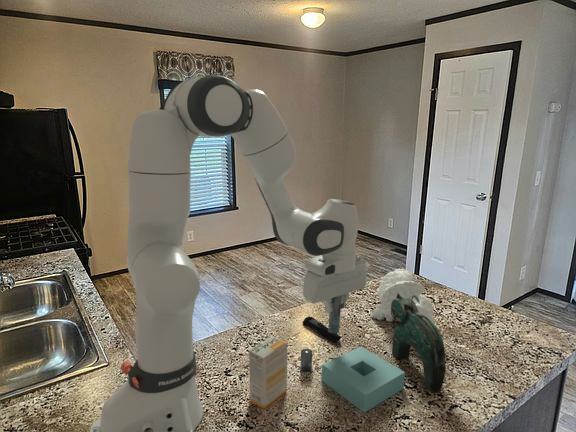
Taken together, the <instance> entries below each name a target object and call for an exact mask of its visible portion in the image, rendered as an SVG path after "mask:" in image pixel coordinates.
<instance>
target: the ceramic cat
mask: <svg viewBox="0 0 576 432" xmlns="http://www.w3.org/2000/svg"><path fill="white" fill-rule="evenodd" d="M413 297H415V298H416V300H417V301H418V303H419V304H420V302H419V299H418V297H417V296H415V295H414V296H412V299H410V298H402V297H401V296H400V295H399V294H397V297H396V299H394V300H393V301H392V304H391V316H392V318H393V319H394V320H393V321H394V322H395V325H394V331H393V336H392V348H391V354H392V355H393V356H394V357H395V359H398V360H405V359H409V358H410V350H411V348H413V349H415V351H416V352H417V353H418V355H419V357H420V358H421V363H422V368H423V376H424V377H423V379H424V387H425V389H426V390H427V391H428V392H429V393H436V392H441V391H442V388H443V385H444V380H445V375H446V371H447V366H446V350H445V345H444V341H443V337H442V336H441V333H440V331H439V328H437V326H436V325H435V324H434V323H433V322H432V321H431V320H430V319H429V318H428V317H426V316H424V315H422V314H420V313H419V312H418V309H417V306H416V304H415V302H414V301H413Z"/></svg>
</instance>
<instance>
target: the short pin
mask: <svg viewBox="0 0 576 432" xmlns="http://www.w3.org/2000/svg"><path fill="white" fill-rule="evenodd" d="M312 370H313V350H312V349H310V348H307V347H306V348H302V349H301V350H300V371H301V372H303V373H311V372H312Z"/></svg>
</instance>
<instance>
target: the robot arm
mask: <svg viewBox="0 0 576 432" xmlns="http://www.w3.org/2000/svg"><path fill="white" fill-rule="evenodd" d="M229 135H230V136H231V137H232V138H233V141H235V142H236V144H237V147H238V149H239V151H240V152H241V154H242V156H243V158H244V160H245V161H246V163H247V165H248V167H249V169H250V170H251V172H252V175H253V177H254V180H255V182H256V185H257V187H258V190H259V192H260V194H261V196H262V198H263V200H264V202H265V205H266V207H267V209H268V211H269V213H270V217H271V222H272V223H271V224H272V230H273V235H274V237H275V238H276V240H277V241H278V242H279V243H281V244H283V245H285V246H289V247H292V248H294V249H296V250H298V251H300V252H303V253H306V254H307V255H310V256H314V257H312V258H311V259H309V260H307V261H306V263H305V269H306V270H307V271H306V273H305V275H304V277H303V279H304V280H303V288H302V289H303V291H302V295H303V299H305V300H306V302H309V303H311V304H313V305H315V304H317V303H321V302H322V303H323V305H324V311H325V312H326V313H327V314H329V313H331V312H333V309H334V306H332V305H331V304H330V302H331V299H332V298H334V297H337V296H340V295H342V299H341V310H342V309H345V308H346V303H347V301H348V299H349V297H350V293H352V292H356V291H360V290H363V289H365V288H366V286H367V281H368V280H367V279H368V277H367V275H368V273H367V267H366V266H367V265H366V259H365V257H363V256H362V255H356V254H357V247H356V241H357V237H358V230H359V229H358V228H359V212H358V209H357V206H356V205H355V203H353V202H351V201H348V200H343V199H338V198H330V199H328V200H327V201H326V203H325V204H324V205H323V206H322V207H321V208H320V209H318V210H316V211H315V212H311V213H310V212H307V211H304V210H302V209H301V208H299V207H297V206H296V205H295V204H294V202H293V201H292V199H291V196H290V193H289V192H288V189H287V186H286V184H285V181H284V177H285V176H286V175H288V174H289V173H290V172H291V171H292V170H293V168H294V166H295V164H296V162H297V157H298V155H297V150H296V145H295V142H294V140H293V138H292V135H291V133H290V132H289V129H288V127H287V125H286V123H285V121H284V119H283V118H282V116H281V114H280V113H279V111H278V109H277V108H276V106H275V105H274V103H273V102H272V101H271V99H270V98H269V96H268V95H267V94H266V93H265V92H264V91H262V90H260V89H254V88H253V89H252V88H251V89H246V90H244V89H243V88H242V87H240V85H239V84H237V83H236V82H235V81H234V80H232V79H230V78H228V77H226V76H224V75H219V74H208V75H205V76H202V75H200V76H193V77H190V78H187V79H185V80H182V81H180V82H178V83H177V84H175V85H174V86H172V88H171V89H170V90H169V92H168V93H167V94H166V97H165V99H164V101H163V102H162V104H161V106H160V107H159V108H158V109H157V108H155V109H150V110H146V111H143V112H141V113H140V114H138V115H137V116H136V117H135V119H134V120H133V122H132V126H131V132H130V139H129V146H128V165H127V166H128V167H127V168H128V205H129V206H128V209H129V212H128V215H129V216H128V224H127V225H128V227H127V247H126V249H127V250H126V252H127V253H126V254H127V255H126V265H127V266H126V267H127V270H128V273H129V275H130V277H131V280H132V284H133V287H134V290H135V303H136V305H135V307H136V310H135V313H136V314H135V315H136V316H135V325H134V332H135V344H136V361H135V363H134V364H133V365H132V363H131V361H129V360H126V361H123V362H122V363H121V365H120V369H121V371H122V373H123V374H124V375H127V380H126V382H124V383H123V384H122V385H121V386H120V387H119V388H118V389H117V390H116V391H115V392H114V393H113V394H111V395H110V397H108V398H107V399H106V400H105V402H104V403H103V407H102V409H101V413H100V417H99V418H98V419H96V420H94V421H93V423H92V424H91V426H90V428H89V432H194V431H195V430H196V428H197V427H198V425H200V423H201V421H202V419H203V417H204V406H203V404H202V401H201V399H200V397H199V393H198V387H197V382H196V376H197V359H196V352H195V351H194V342H193V341H194V338H193V337H194V336H193V318H194V310H195V305H196V300H197V298H198V295H199V294H200V288H201V282H200V279H199V278H200V277H199V273H198V270H197V267H196V266H195V263H194V261H192V259H191V258H190V257H189V256H188V254H186V251H185V249H184V248H185V247H184V237H185V231H186V226H187V221H188V218H189V216H190V215H191V174H192V173H191V155H192V154H191V153H192V149H193V146H194V143H195V142H196V140H197V139H198V137H202V138H203V137H204V138H205V137H207V138H209V137H211V138H212V137H215V138H216V137H226V136H229Z"/></svg>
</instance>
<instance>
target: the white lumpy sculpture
mask: <svg viewBox="0 0 576 432" xmlns="http://www.w3.org/2000/svg"><path fill="white" fill-rule="evenodd" d="M376 292H377V293H376V294H377V296H378V298H379V301H380V305H378V304H377V305H376V307H375V309H373V311H372V312H371V316H370V317H371V318H373V319H377V320H379V321H382V320H384V319H385V320H386V321H387V322H389V323H390V322H393V321H395V320H394V319H393V318H392V316H391V304H392V301H393V300H394V299H396V297H397V294H399V295H400V296H401V297H402V298H410V299H412V296H414V295H415V296H417V297H418V299H419V302H420V304H419V303H418V301H417V300H416V298H415V297H413V301H414V302H415V304H416V306H417V309H418V312H419V313H420V314H422V315H424V316H426V317H428V318H429V319H430V320H431V321H432V322H433V324H434V322H435V320H434V317H433V316H434V314H435V311H434V307H433V304H432V302H431V301H430V300H429V299H428V298H427V296H426V295H424V294H423V293H424V292H425V287H424V285H422V284H421V283H419V282H417V281H414V276H413V274H412V273H411V272H410V271H409V270H406V269H405V268H400V267H399V268H395V269H394V271H389V272H387V274H385V275H384V277H382V279H381V280H380V283H379V287H378V288H376Z"/></svg>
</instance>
